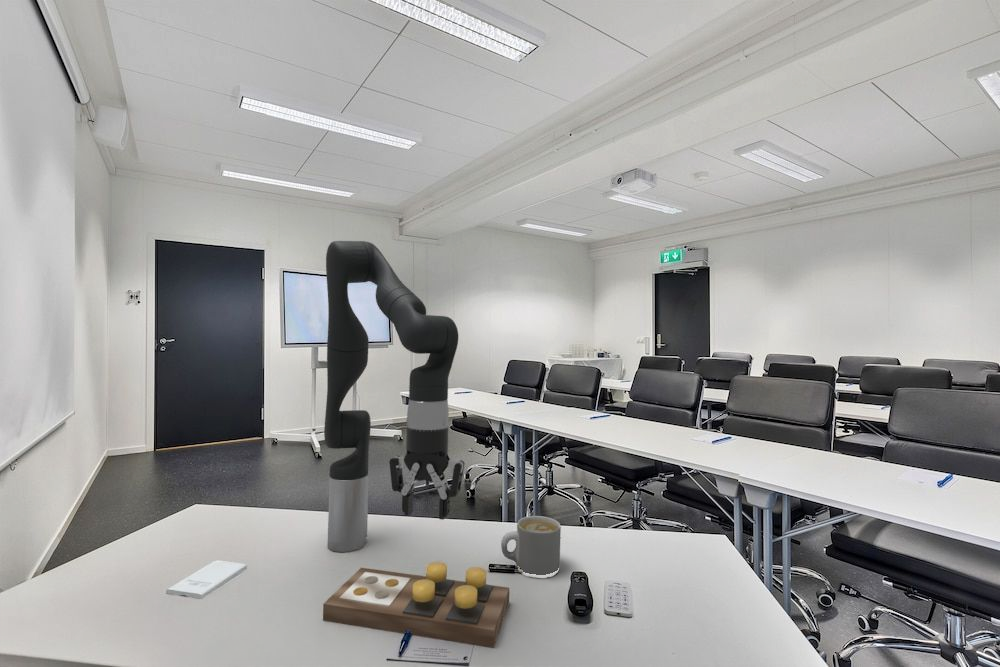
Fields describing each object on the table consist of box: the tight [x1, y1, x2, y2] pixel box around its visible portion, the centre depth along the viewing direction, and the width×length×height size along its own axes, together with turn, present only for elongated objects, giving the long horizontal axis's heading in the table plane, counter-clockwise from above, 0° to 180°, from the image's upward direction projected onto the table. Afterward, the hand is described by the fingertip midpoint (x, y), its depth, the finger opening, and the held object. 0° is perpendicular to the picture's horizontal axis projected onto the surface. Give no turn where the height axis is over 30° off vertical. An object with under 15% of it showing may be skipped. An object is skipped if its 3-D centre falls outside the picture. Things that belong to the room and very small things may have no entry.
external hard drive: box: [165, 559, 248, 600], centre depth 99 cm, size 2×8×12 cm
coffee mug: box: [500, 515, 562, 575], centre depth 108 cm, size 13×10×10 cm
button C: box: [464, 566, 487, 588], centre depth 91 cm, size 4×4×2 cm
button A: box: [425, 561, 448, 582], centre depth 93 cm, size 4×4×2 cm
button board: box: [322, 567, 510, 649], centre depth 90 cm, size 14×32×4 cm, turn 78°
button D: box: [455, 585, 477, 609], centre depth 85 cm, size 4×4×2 cm
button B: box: [412, 579, 435, 602], centre depth 86 cm, size 4×4×2 cm
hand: (425, 515), depth 86 cm, fingers open, 6 cm apart
